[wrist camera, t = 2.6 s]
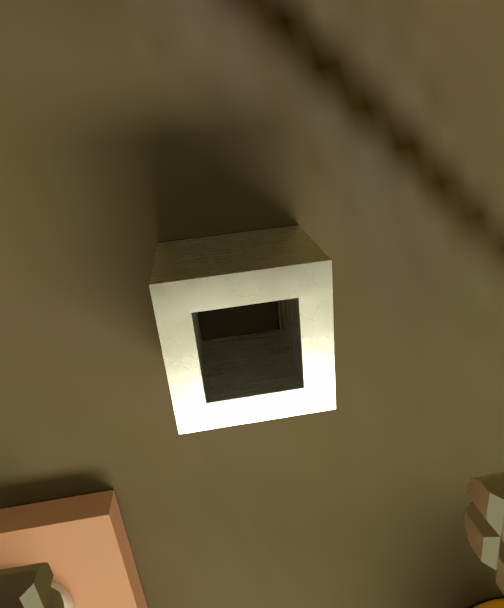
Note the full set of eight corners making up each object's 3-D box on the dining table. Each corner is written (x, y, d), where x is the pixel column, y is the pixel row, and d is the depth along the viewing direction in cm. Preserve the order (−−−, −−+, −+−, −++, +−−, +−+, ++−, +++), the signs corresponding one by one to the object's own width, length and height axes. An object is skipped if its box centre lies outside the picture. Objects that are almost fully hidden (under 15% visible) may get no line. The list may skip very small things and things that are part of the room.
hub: (298, 224, 19) (331, 260, 14) (305, 347, 21) (335, 409, 17) (157, 242, 18) (149, 284, 14) (180, 366, 20) (178, 434, 16)
